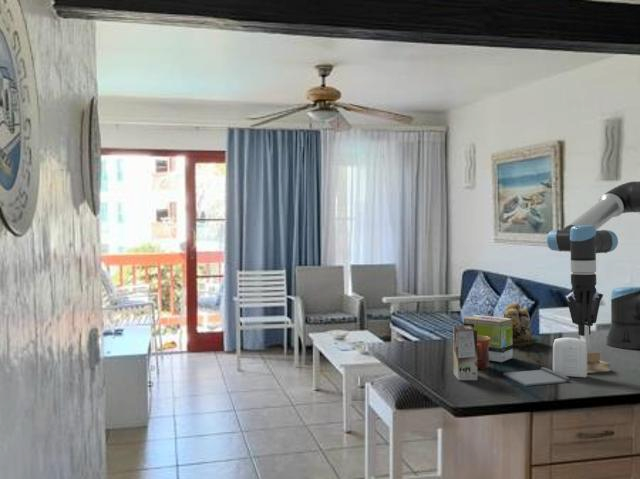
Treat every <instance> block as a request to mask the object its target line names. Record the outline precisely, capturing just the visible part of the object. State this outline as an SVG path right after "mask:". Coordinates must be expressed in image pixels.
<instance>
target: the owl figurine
mask: <svg viewBox="0 0 640 479" xmlns="http://www.w3.org/2000/svg"><path fill="white" fill-rule="evenodd" d="M502 318H512V331H513V348H514V349H524V348H531V347H532V346H535V343H536V342H535V339H533V338H532V335H531V334H532V333H531V332H532V328H531V318H530V314H529V312H528V309H526V308H521V304H519V302H511V303H508V305H507V306H506V310H505V311H504V312H503V317H502Z"/></svg>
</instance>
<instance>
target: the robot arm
mask: <svg viewBox="0 0 640 479" xmlns="http://www.w3.org/2000/svg"><path fill="white" fill-rule="evenodd" d="M626 213H627V214H628V213H640V180H639V181H629V182H625V183H622V184H619V185H617V186H615V187H613V188H611V189H609V190H608V191H607V192H605V193H604V194H603V195H601V196H600V197H599V199H598V201H597V202H596V203H595V204H594V205H592V206H591V207H590V208H588V209H587V210H586V211H584V213H582V214H581V215H580V216H578V217H576V219H574V220H573V221H572V222H570V223H569V224H568V225H566V226H565V227H563V228H562V229H552V230H550V231H549V232H548V234H547V237H546V243H547V247H548V248H549V249H550V250H551V251H555V252H556V251H557V252H570V272H571V274H570V284H571V290H570V293H568V294H565V295H564V299H565V300H566V302H567V306H568V310H569V313H570V318H571V322H572V324H575V325H577V327H578V328H577V330H578V335H579V339H581V340H584V341H585V342H586V345H587V347H590V335H591V334H592V333H591V327H593V325H594V324H595V323H597V319H598V315H599V308H600V305H601V301H602V299H603V297H604V294H602V293H600V292H598V291H597V288H596V286H597V274H596V272H597V254H608V253H611V252H613V251H614V250H615V249H616V248H618V244H619V238H618V236H617V234H616V233H615V232H614V231H612V230H608V229H601V230H599V229H600V228H601V227H602V226H604V225H605V224H606V223H608V222H609V221H610V220H611V219H612V218H616V217H620V216H621V215H622V214H626ZM610 305H611V306H610V307H611V308H610V311H611V313H610V315H611V316H610V318H611V320H610V321H611V322H610V328H609V329H608V330H609V331H608V334H607V336H606V340H605V344H607V345H608V346H610V347H615V348H618V349H625V350H626V349H627V350H628V349H629V350H640V286H625V287H616V288H614V289H613V290H612V291H611V297H610Z"/></svg>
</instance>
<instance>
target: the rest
mask: <svg viewBox="0 0 640 479" xmlns="http://www.w3.org/2000/svg"><path fill="white" fill-rule="evenodd" d="M610 371H611V362H610V363H609V362H607V361H604V360H601V359H600V363H592V364H587V374H589V373H590V374H591V373H602V372H603V373H604V372H610Z"/></svg>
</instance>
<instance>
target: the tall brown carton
mask: <svg viewBox="0 0 640 479" xmlns="http://www.w3.org/2000/svg"><path fill="white" fill-rule="evenodd" d="M600 356H601V355H600V352H599V351H597V350H587V364H592V363H600V360H601V359H600V358H601V357H600Z"/></svg>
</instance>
